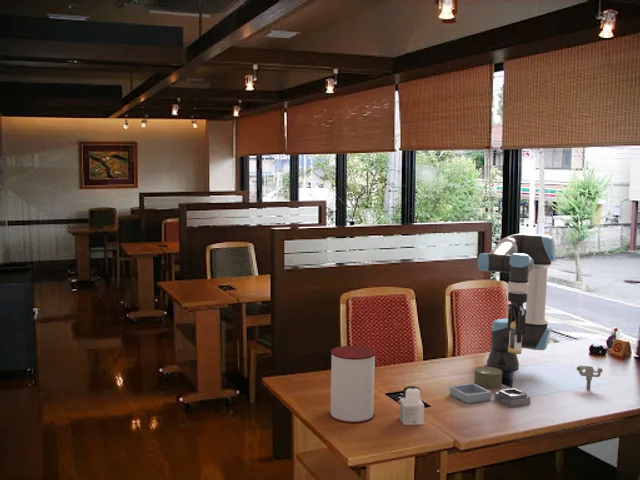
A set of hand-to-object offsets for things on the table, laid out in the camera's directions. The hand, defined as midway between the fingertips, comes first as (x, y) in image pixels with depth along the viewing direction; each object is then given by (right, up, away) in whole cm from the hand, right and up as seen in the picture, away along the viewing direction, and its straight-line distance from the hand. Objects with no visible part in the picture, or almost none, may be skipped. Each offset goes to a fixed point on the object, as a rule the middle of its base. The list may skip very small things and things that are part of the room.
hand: (515, 348), depth 278 cm
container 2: (-45, -25, -20) cm, 55 cm away
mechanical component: (+38, -21, +20) cm, 48 cm away
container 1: (-67, -24, -15) cm, 73 cm away
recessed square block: (0, -23, +3) cm, 23 cm away
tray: (-17, -22, +7) cm, 28 cm away
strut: (0, -2, 0) cm, 2 cm away
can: (-5, -20, +24) cm, 32 cm away
